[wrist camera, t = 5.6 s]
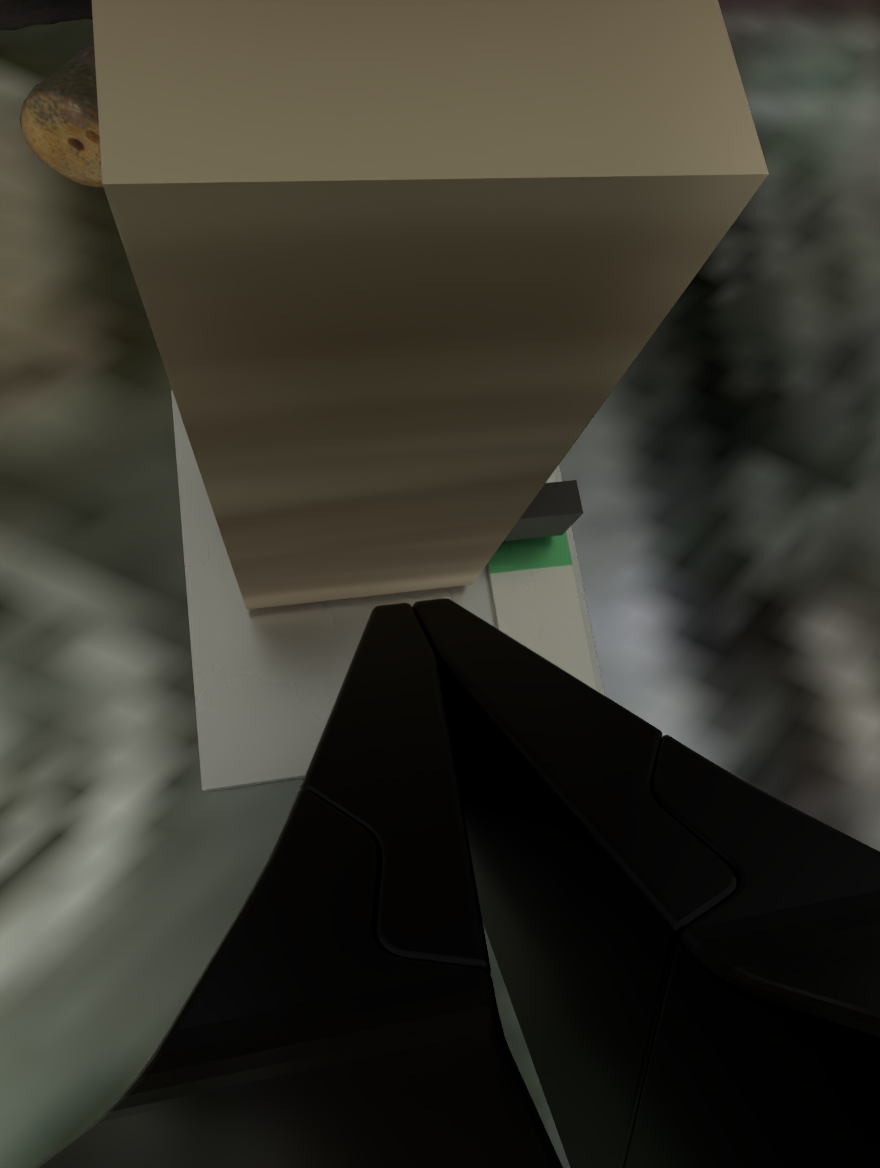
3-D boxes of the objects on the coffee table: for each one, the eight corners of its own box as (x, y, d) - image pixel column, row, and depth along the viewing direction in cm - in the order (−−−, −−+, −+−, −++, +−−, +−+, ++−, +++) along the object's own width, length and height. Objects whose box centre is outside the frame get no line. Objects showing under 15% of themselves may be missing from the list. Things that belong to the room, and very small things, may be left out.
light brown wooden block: (565, 574, 15) (1010, 170, 5) (246, 609, 14) (102, 183, 4) (542, 450, 16) (904, -110, 6) (233, 474, 15) (82, -158, 5)
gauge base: (589, 734, 16) (862, 666, 8) (210, 791, 14) (91, 774, 7) (525, 396, 18) (696, 69, 10) (181, 420, 16) (58, 61, 8)
